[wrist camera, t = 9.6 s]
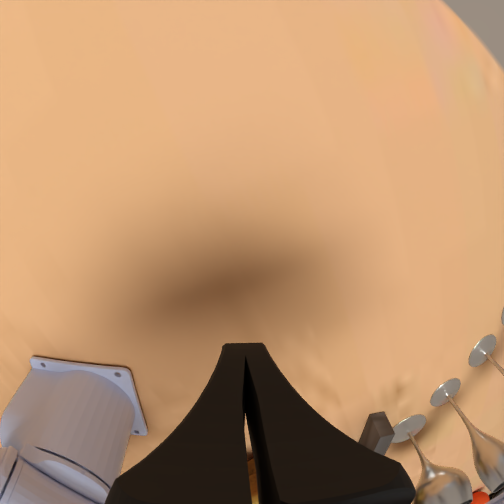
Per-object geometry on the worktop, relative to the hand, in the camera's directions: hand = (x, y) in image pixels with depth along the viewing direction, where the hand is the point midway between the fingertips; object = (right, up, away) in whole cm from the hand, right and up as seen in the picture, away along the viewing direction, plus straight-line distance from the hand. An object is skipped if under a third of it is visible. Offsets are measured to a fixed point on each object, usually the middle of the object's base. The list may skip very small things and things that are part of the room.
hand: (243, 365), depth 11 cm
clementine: (+52, -53, +32) cm, 81 cm away
